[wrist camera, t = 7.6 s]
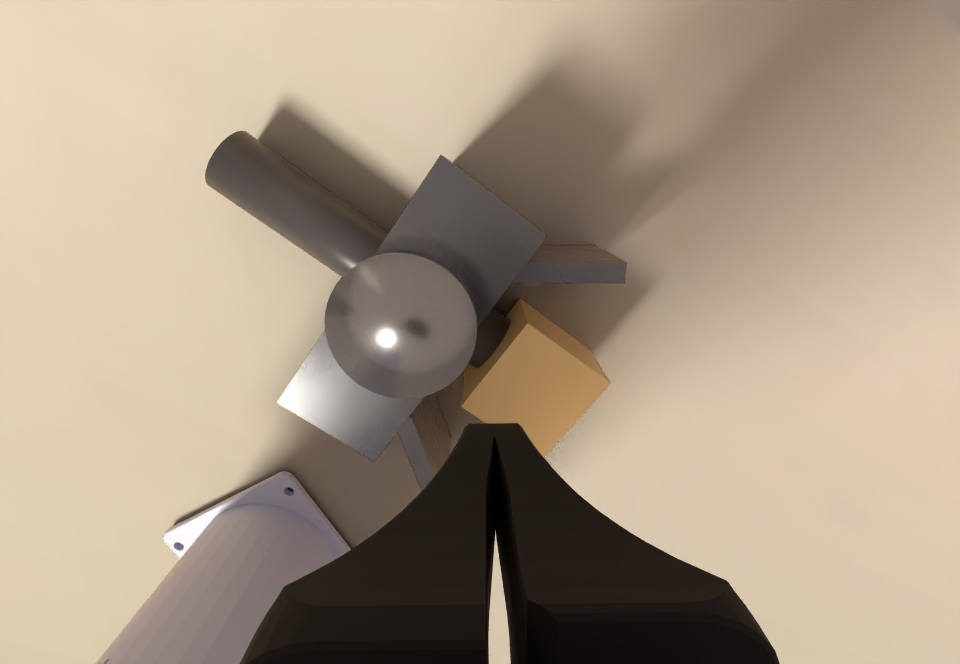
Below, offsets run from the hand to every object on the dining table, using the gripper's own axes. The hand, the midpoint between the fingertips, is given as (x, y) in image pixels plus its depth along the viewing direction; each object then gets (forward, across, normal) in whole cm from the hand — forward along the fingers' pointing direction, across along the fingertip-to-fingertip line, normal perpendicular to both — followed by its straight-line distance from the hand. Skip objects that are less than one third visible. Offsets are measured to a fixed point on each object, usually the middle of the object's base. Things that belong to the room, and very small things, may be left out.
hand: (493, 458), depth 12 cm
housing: (+10, +2, -1) cm, 10 cm away
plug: (+10, +3, -3) cm, 11 cm away
